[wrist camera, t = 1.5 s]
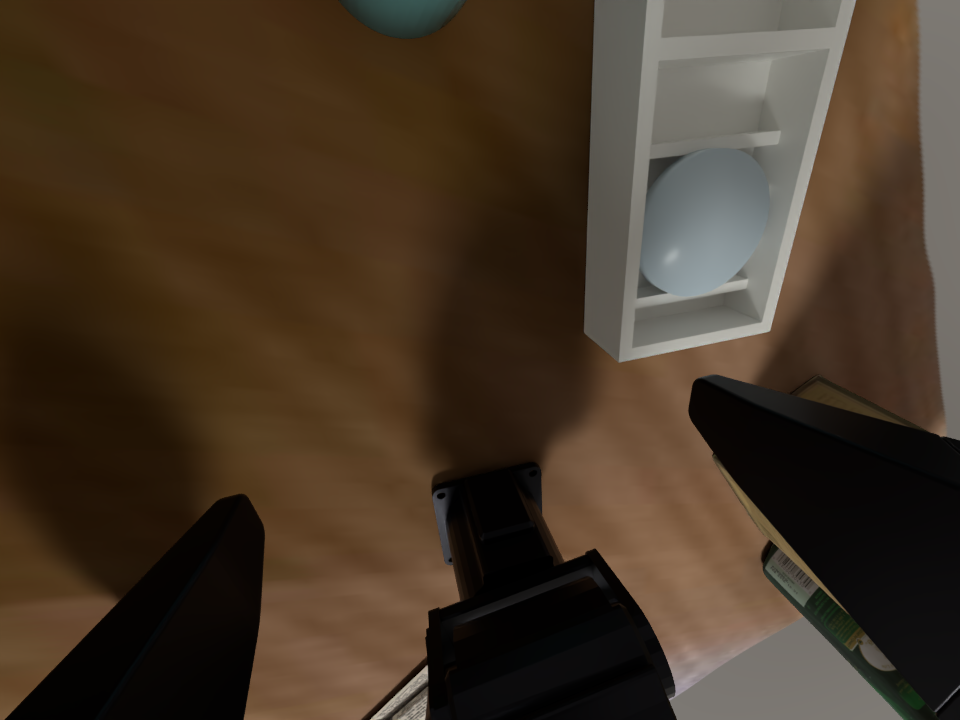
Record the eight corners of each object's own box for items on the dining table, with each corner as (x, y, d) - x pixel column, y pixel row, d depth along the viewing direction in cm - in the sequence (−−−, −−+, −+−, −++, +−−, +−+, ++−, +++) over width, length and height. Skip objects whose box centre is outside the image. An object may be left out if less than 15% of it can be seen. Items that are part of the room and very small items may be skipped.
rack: (717, 307, 23) (769, 331, 20) (583, 332, 22) (618, 362, 19) (816, -212, 15) (935, -306, 11) (601, -223, 13) (673, -333, 10)
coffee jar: (863, 522, 38) (1223, 794, 22) (803, 581, 41) (1089, 866, 25) (805, 501, 34) (1190, 812, 18) (742, 568, 37) (1035, 895, 21)
